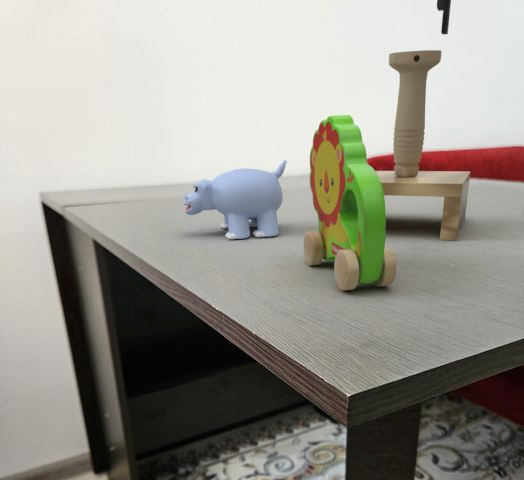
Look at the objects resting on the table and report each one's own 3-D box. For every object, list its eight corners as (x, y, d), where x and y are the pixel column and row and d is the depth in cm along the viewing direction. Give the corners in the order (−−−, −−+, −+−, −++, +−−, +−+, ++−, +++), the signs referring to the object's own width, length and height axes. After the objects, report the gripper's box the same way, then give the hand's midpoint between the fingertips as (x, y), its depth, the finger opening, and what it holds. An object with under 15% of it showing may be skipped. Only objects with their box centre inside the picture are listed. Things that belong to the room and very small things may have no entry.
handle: (432, 177, 70) (444, 49, 64) (383, 178, 71) (390, 52, 65) (427, 173, 74) (438, 53, 68) (381, 174, 75) (387, 56, 69)
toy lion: (398, 291, 49) (412, 113, 43) (344, 297, 48) (349, 115, 42) (338, 252, 63) (342, 114, 57) (295, 256, 62) (294, 116, 56)
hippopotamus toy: (185, 228, 80) (179, 162, 76) (281, 221, 82) (280, 157, 78) (187, 243, 70) (180, 169, 66) (296, 235, 72) (295, 163, 68)
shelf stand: (464, 220, 78) (470, 171, 75) (456, 240, 67) (462, 183, 64) (359, 216, 84) (361, 170, 81) (334, 234, 73) (335, 181, 70)
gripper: (606, -151, 74) (574, 24, 83) (424, -115, 83) (413, 38, 92) (615, -174, 68) (579, 18, 76) (417, -133, 77) (405, 34, 86)
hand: (488, 29), depth 84 cm, fingers open, 13 cm apart
